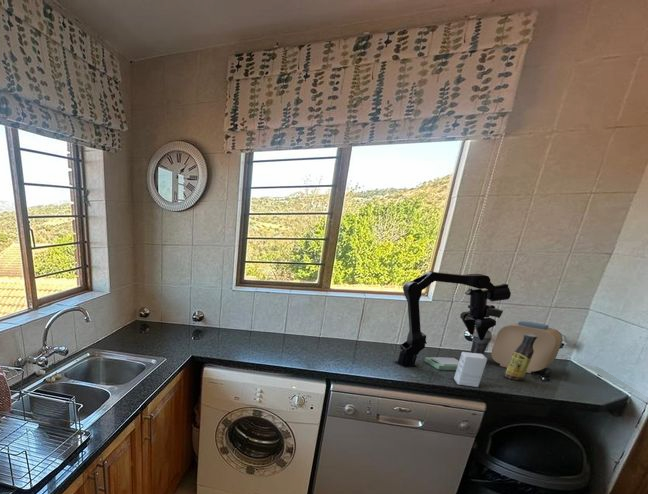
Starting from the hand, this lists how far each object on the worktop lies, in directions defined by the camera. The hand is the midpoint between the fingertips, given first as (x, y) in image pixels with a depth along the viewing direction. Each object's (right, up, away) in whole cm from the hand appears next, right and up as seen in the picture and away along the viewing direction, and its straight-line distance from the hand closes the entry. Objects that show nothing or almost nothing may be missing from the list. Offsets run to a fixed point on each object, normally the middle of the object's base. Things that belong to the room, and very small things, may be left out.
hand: (476, 337), depth 181 cm
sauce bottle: (+13, -19, -4) cm, 23 cm away
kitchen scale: (-6, -13, +10) cm, 17 cm away
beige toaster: (+26, -14, +8) cm, 31 cm away
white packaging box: (-13, -21, -10) cm, 26 cm away
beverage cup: (+15, -9, +19) cm, 26 cm away
